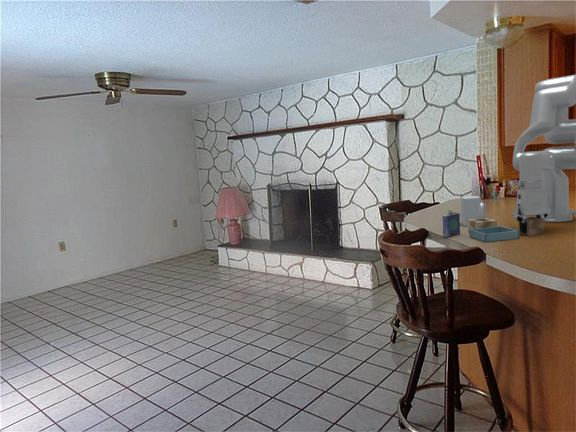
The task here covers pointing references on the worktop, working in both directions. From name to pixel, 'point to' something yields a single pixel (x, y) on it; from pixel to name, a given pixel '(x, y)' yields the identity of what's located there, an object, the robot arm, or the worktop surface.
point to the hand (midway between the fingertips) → (531, 231)
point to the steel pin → (481, 211)
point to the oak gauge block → (481, 223)
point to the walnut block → (534, 226)
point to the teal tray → (494, 234)
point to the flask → (451, 224)
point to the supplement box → (469, 208)
